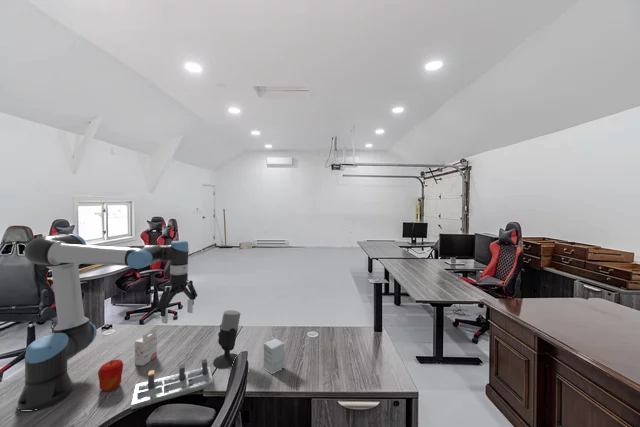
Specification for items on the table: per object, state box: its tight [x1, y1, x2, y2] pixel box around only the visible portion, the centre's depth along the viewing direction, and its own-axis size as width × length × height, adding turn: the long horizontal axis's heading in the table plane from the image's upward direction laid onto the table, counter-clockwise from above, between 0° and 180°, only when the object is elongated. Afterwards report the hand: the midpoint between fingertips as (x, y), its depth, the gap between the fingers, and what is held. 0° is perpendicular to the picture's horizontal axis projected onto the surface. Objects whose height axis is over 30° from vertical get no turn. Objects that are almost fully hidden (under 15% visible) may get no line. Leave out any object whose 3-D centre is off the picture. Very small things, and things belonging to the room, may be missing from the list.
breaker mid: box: [178, 363, 186, 381], centre depth 112 cm, size 3×3×6 cm
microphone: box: [212, 310, 241, 370], centre depth 131 cm, size 13×13×25 cm
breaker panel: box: [130, 365, 214, 410], centre depth 111 cm, size 29×13×4 cm, turn 119°
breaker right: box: [200, 358, 208, 375], centre depth 116 cm, size 3×3×6 cm
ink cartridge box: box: [134, 328, 158, 367], centre depth 130 cm, size 9×5×15 cm, turn 168°
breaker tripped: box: [147, 369, 156, 389], centre depth 107 cm, size 3×3×7 cm
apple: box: [97, 359, 124, 392], centre depth 110 cm, size 9×8×12 cm
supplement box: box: [263, 338, 285, 373], centre depth 126 cm, size 7×7×13 cm
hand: (178, 317), depth 124 cm, fingers open, 13 cm apart
